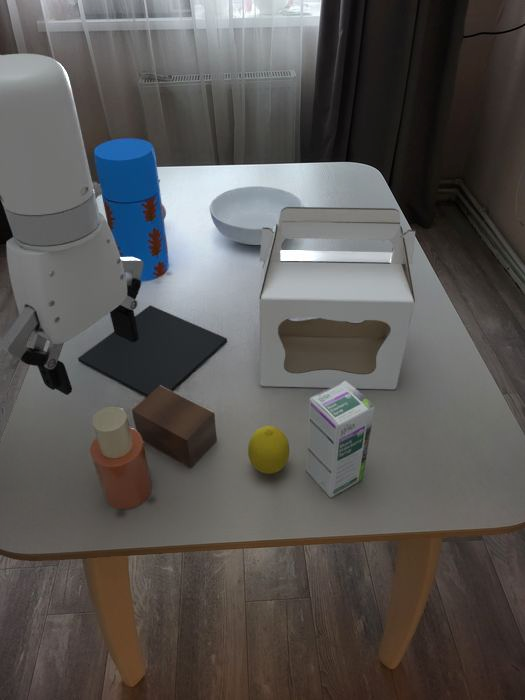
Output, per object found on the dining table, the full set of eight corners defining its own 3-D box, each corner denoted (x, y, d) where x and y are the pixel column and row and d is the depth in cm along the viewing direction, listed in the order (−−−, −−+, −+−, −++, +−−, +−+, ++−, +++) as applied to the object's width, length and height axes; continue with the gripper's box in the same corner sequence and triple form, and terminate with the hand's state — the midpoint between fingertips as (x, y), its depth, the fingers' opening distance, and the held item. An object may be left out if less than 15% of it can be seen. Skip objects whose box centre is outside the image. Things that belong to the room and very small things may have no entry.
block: (137, 438, 81) (131, 410, 78) (164, 412, 85) (160, 384, 81) (191, 468, 77) (187, 440, 73) (217, 440, 81) (214, 412, 77)
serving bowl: (296, 261, 118) (298, 232, 114) (201, 252, 121) (198, 224, 116) (308, 215, 133) (309, 188, 129) (223, 209, 136) (221, 182, 132)
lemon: (276, 491, 74) (277, 453, 69) (241, 474, 76) (239, 436, 71) (295, 462, 78) (297, 424, 73) (260, 447, 80) (260, 409, 75)
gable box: (258, 387, 89) (256, 230, 71) (261, 335, 99) (261, 186, 81) (397, 390, 89) (432, 233, 70) (386, 337, 99) (414, 188, 80)
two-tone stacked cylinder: (108, 496, 77) (39, 486, 64) (150, 418, 79) (91, 393, 66) (143, 518, 75) (78, 512, 62) (185, 437, 77) (131, 415, 64)
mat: (78, 361, 94) (77, 358, 94) (150, 308, 106) (150, 305, 105) (159, 403, 87) (158, 400, 86) (227, 341, 98) (227, 338, 97)
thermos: (107, 266, 117) (82, 148, 100) (150, 248, 122) (133, 133, 106) (135, 288, 111) (113, 166, 94) (179, 268, 116) (165, 149, 100)
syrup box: (330, 499, 73) (340, 426, 64) (303, 469, 77) (309, 395, 68) (363, 479, 76) (377, 406, 66) (335, 451, 79) (345, 377, 70)
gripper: (97, 171, 55) (126, 309, 67) (-62, 246, 45) (5, 396, 56) (153, 189, 52) (174, 330, 63) (-3, 274, 41) (55, 427, 53)
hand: (95, 361), depth 60 cm, fingers open, 9 cm apart
